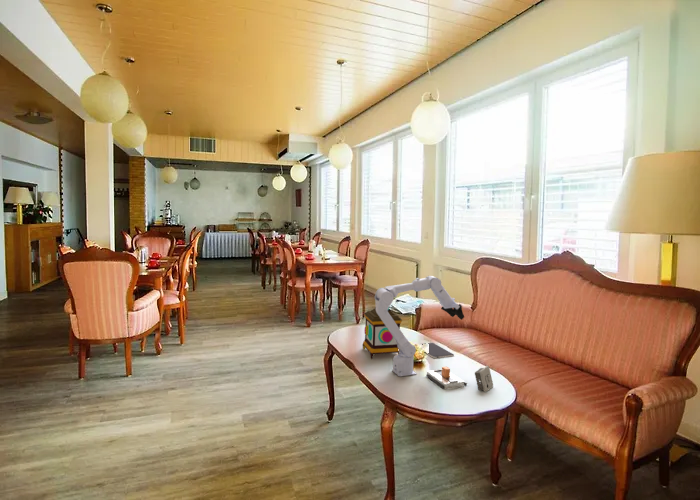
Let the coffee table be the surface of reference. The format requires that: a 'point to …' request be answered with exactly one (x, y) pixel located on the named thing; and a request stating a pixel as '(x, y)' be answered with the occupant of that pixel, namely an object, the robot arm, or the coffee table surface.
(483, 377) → the electrical switch
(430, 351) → the notebook
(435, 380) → the cord left
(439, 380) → the breaker panel
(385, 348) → the decorative lantern
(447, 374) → the block
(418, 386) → the coffee table surface
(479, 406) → the coffee table surface
